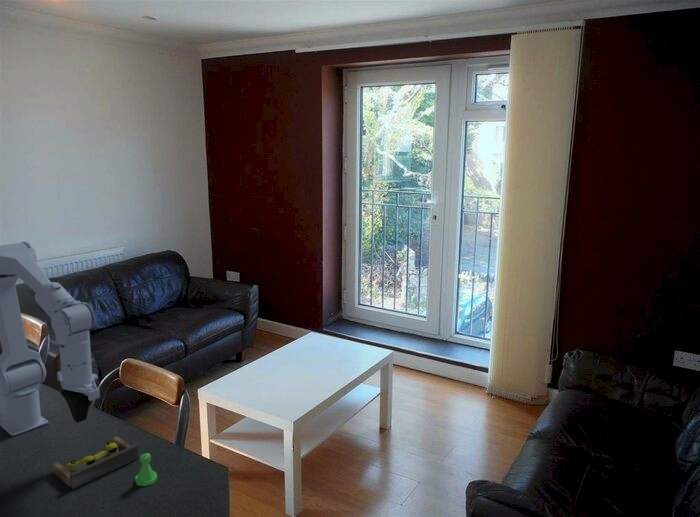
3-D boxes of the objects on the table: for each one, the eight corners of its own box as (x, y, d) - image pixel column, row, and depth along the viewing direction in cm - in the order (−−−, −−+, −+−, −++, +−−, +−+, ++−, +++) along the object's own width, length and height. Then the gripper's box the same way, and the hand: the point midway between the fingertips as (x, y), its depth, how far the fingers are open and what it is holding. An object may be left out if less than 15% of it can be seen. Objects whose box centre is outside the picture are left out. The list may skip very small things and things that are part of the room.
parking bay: (53, 472, 109) (51, 459, 108) (117, 444, 120) (116, 432, 119) (72, 489, 104) (71, 475, 103) (138, 458, 115) (137, 446, 114)
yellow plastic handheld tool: (85, 477, 106) (80, 461, 106) (68, 478, 110) (63, 462, 110) (127, 453, 115) (122, 438, 115) (110, 455, 118) (105, 440, 118)
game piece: (137, 474, 109) (136, 448, 108) (159, 472, 110) (157, 446, 109) (132, 487, 105) (131, 460, 104) (155, 485, 106) (154, 458, 105)
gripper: (112, 364, 109) (115, 424, 112) (78, 347, 118) (82, 402, 121) (78, 375, 104) (82, 437, 107) (45, 356, 113) (50, 414, 115)
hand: (80, 420), depth 113 cm, fingers closed
